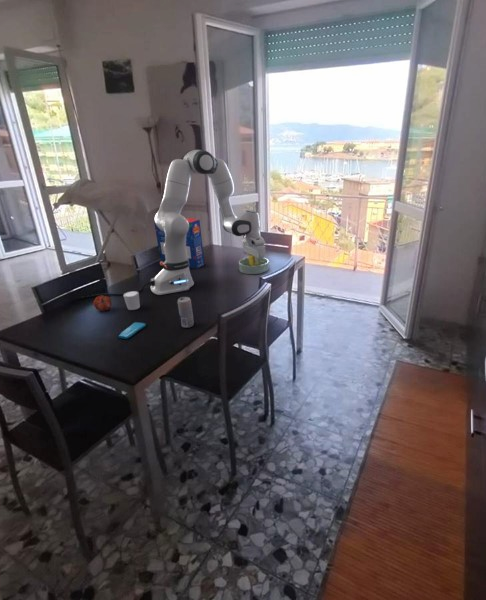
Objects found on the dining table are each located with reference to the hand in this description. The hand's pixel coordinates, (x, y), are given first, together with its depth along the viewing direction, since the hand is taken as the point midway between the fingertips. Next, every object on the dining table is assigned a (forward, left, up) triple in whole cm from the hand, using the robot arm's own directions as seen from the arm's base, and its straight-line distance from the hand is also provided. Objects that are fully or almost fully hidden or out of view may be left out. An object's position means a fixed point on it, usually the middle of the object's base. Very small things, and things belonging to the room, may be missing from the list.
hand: (253, 261), depth 210 cm
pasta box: (-31, +35, -4) cm, 47 cm away
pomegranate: (-85, -5, -4) cm, 85 cm away
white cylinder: (-73, -11, -4) cm, 74 cm away
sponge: (-80, -34, -4) cm, 87 cm away
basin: (-1, -2, -4) cm, 5 cm away
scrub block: (0, 0, -3) cm, 3 cm away
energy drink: (-59, -43, -4) cm, 73 cm away
